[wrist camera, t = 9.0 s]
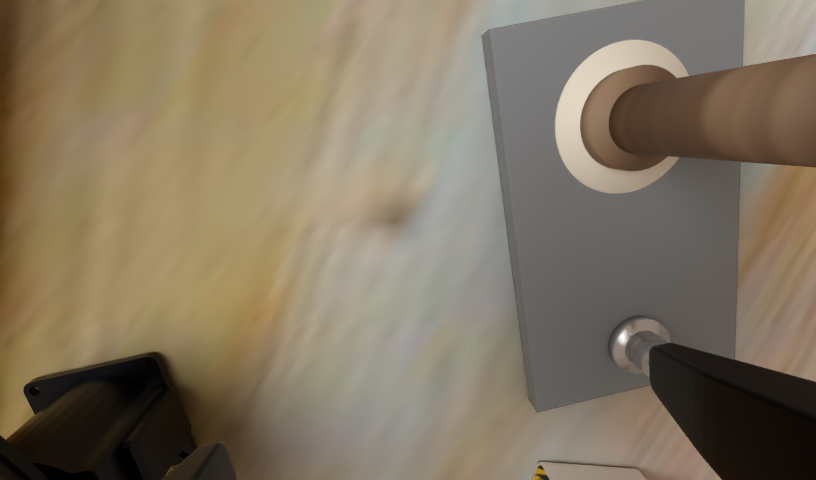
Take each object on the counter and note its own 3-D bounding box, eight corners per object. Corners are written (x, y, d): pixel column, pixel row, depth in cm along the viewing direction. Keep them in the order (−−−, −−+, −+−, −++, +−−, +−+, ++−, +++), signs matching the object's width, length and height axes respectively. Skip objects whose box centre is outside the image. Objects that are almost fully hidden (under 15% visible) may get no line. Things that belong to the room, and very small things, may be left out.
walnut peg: (572, 166, 20) (843, 209, 9) (589, 63, 19) (925, -39, 8) (660, 172, 20) (1019, 219, 9) (681, 72, 19) (1118, -9, 8)
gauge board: (528, 399, 24) (538, 414, 23) (481, 35, 19) (490, 28, 18) (717, 353, 25) (737, 365, 24) (722, -10, 20) (748, -20, 19)
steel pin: (609, 373, 23) (648, 410, 20) (606, 322, 22) (645, 352, 19) (663, 360, 23) (709, 394, 20) (661, 309, 22) (709, 337, 19)
